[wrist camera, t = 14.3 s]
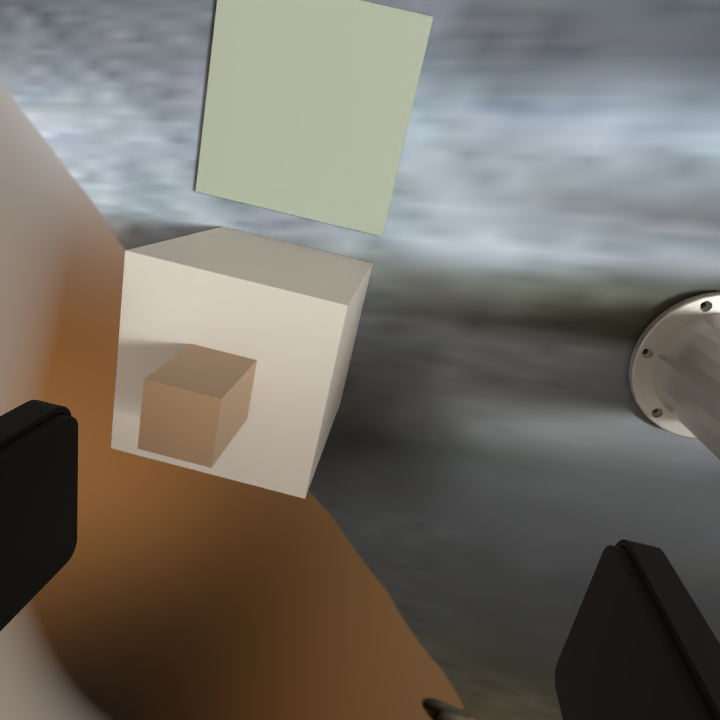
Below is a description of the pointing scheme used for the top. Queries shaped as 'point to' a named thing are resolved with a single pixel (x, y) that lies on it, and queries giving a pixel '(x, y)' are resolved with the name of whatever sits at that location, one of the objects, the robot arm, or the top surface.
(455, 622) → the top surface
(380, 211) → the mat
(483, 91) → the top surface
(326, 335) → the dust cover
